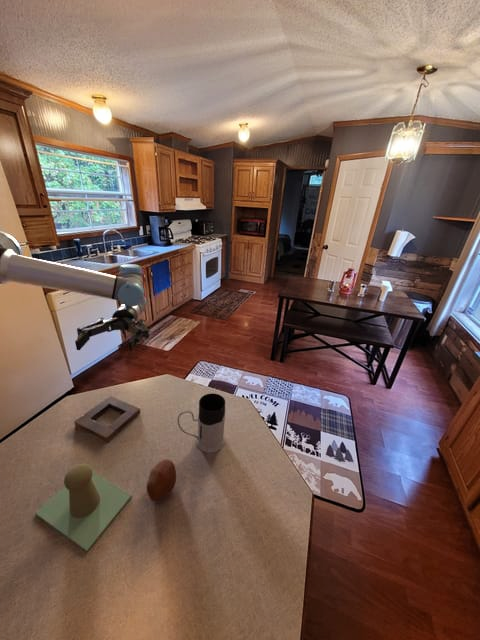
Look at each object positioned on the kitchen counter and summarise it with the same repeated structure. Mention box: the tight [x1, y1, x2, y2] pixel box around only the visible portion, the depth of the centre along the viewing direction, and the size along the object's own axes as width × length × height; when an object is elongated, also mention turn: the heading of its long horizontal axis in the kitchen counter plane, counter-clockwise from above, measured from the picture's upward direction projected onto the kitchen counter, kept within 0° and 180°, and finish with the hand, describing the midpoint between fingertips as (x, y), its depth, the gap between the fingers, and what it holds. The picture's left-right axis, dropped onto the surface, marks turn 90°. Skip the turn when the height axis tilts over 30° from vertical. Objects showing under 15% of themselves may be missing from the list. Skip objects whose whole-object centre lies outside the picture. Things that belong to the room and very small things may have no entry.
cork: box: [63, 463, 100, 518], centre depth 56 cm, size 6×6×11 cm
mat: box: [34, 471, 133, 553], centre depth 59 cm, size 16×12×1 cm
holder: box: [73, 395, 141, 444], centre depth 81 cm, size 13×13×2 cm
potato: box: [146, 458, 177, 503], centre depth 63 cm, size 7×9×6 cm
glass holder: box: [176, 392, 226, 454], centre depth 74 cm, size 9×14×15 cm, turn 112°
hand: (104, 346), depth 69 cm, fingers open, 13 cm apart
